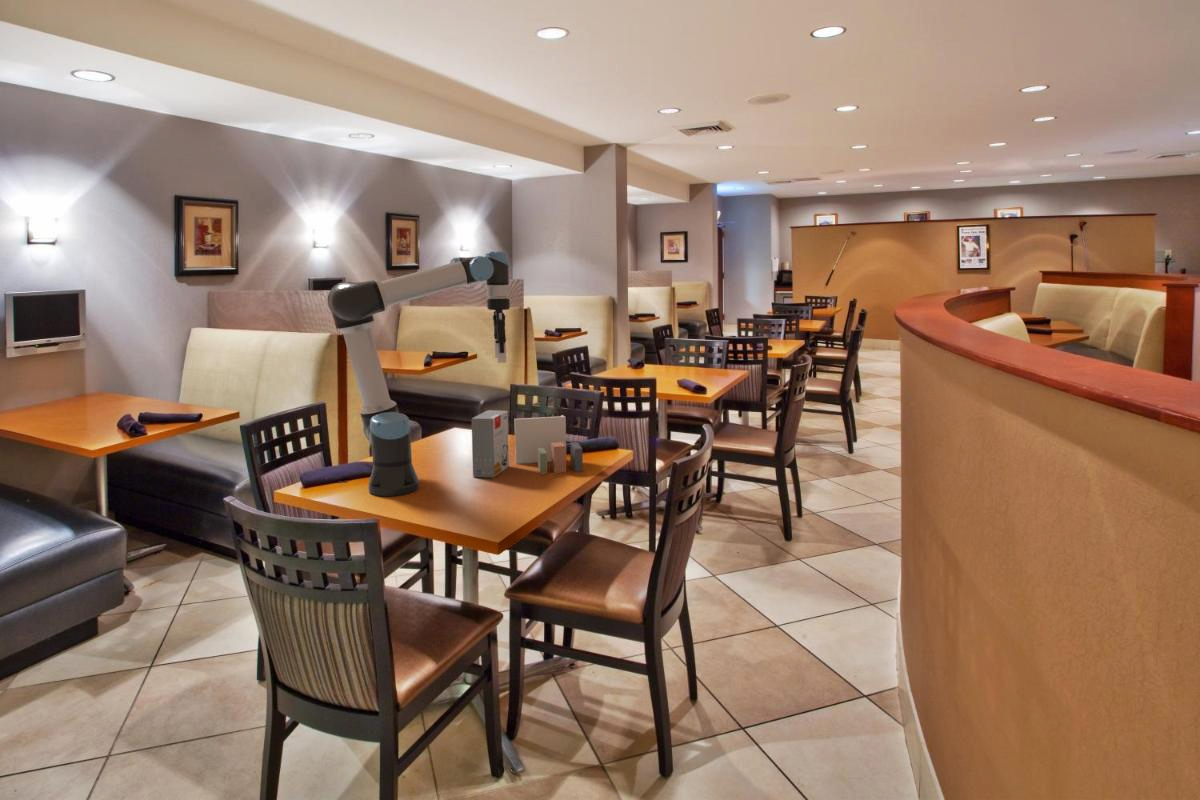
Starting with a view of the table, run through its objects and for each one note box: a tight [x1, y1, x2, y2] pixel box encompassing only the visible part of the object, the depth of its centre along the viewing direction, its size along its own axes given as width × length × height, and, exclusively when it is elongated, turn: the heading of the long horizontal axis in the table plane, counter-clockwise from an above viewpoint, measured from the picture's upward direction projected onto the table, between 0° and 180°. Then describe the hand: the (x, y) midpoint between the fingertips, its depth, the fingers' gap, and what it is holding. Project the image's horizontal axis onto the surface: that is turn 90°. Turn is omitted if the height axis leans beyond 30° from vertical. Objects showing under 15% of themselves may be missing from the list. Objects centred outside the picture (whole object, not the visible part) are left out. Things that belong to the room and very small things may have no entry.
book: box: [551, 442, 567, 474], centre depth 239 cm, size 4×6×9 cm, turn 12°
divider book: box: [537, 448, 548, 475], centre depth 239 cm, size 2×8×7 cm, turn 12°
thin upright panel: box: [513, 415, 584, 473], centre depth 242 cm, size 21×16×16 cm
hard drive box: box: [471, 409, 510, 479], centre depth 237 cm, size 16×8×20 cm, turn 168°
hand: (500, 360), depth 242 cm, fingers open, 13 cm apart
